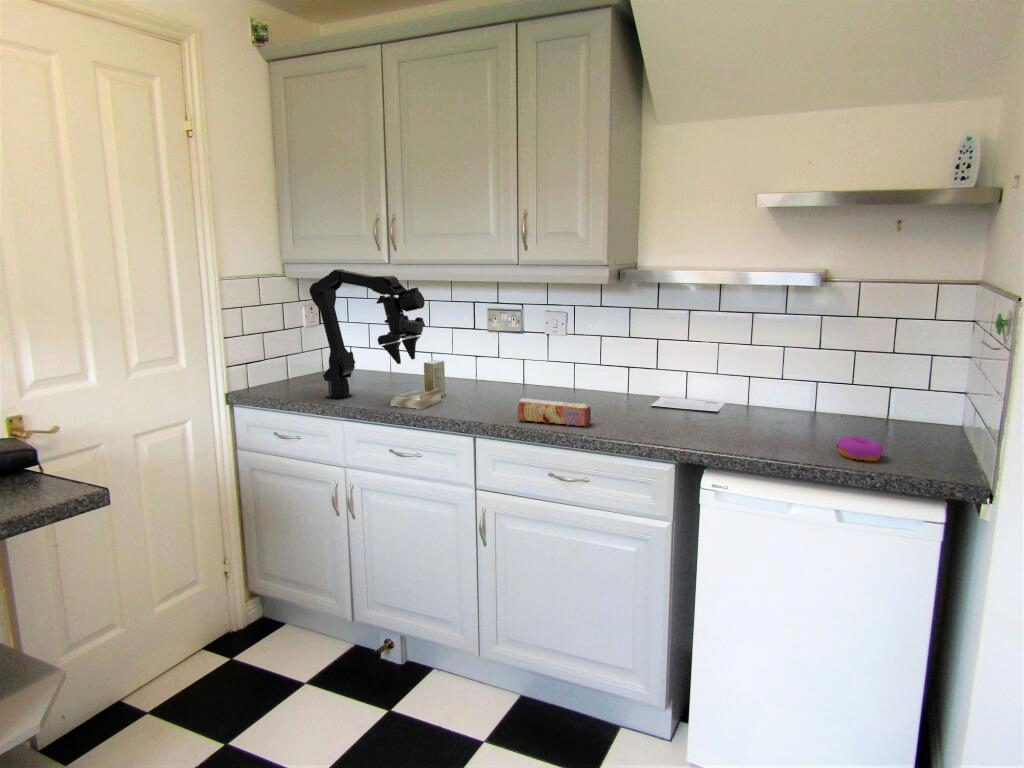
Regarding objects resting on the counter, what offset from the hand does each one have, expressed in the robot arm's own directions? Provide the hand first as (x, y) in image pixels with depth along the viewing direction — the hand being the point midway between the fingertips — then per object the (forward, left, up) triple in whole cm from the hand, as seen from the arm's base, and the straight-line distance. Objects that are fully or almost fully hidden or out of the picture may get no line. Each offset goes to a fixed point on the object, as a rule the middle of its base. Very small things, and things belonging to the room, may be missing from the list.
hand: (406, 361), depth 228 cm
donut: (+133, +6, -14) cm, 134 cm away
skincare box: (+2, +12, -14) cm, 18 cm away
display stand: (+3, 0, -14) cm, 14 cm away
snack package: (+54, 0, -14) cm, 56 cm away
